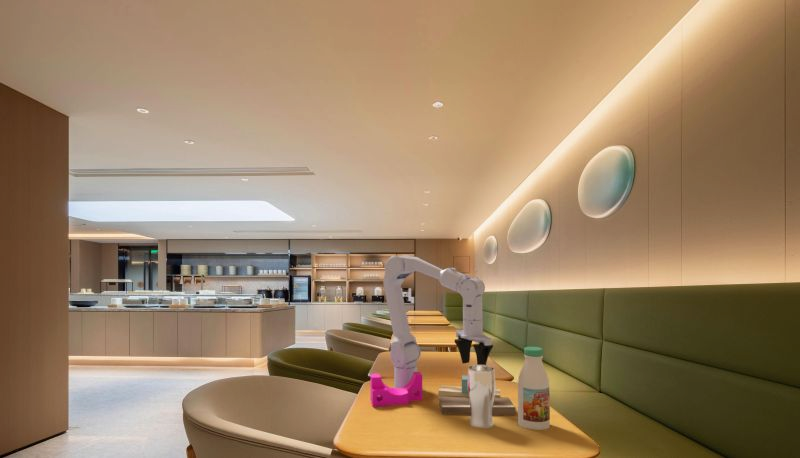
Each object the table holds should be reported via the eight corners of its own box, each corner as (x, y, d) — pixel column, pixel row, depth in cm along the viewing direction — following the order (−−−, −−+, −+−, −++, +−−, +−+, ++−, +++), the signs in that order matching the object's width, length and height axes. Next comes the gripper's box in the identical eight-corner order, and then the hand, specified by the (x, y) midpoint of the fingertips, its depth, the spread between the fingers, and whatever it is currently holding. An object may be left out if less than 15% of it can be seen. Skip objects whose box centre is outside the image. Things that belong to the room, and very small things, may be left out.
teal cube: (462, 388, 139) (462, 375, 139) (475, 389, 138) (475, 376, 138) (461, 393, 135) (461, 379, 135) (475, 393, 134) (475, 380, 134)
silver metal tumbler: (478, 435, 112) (478, 373, 112) (462, 425, 118) (462, 366, 119) (501, 430, 115) (501, 369, 116) (483, 420, 122) (483, 362, 122)
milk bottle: (512, 427, 117) (512, 348, 117) (527, 419, 122) (526, 343, 123) (541, 436, 111) (540, 353, 112) (555, 427, 117) (554, 347, 118)
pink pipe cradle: (372, 406, 132) (372, 380, 132) (370, 399, 138) (370, 374, 138) (424, 403, 134) (424, 377, 134) (419, 396, 140) (419, 371, 141)
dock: (439, 404, 133) (439, 396, 133) (508, 404, 133) (508, 396, 133) (441, 414, 125) (441, 406, 125) (515, 414, 125) (515, 407, 125)
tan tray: (440, 395, 142) (440, 385, 142) (500, 399, 138) (500, 389, 138) (438, 400, 137) (438, 390, 137) (500, 405, 133) (500, 395, 134)
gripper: (447, 317, 141) (448, 362, 140) (477, 324, 128) (478, 373, 128) (466, 315, 144) (467, 359, 144) (497, 321, 131) (497, 370, 131)
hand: (473, 365), depth 136 cm, fingers open, 7 cm apart
